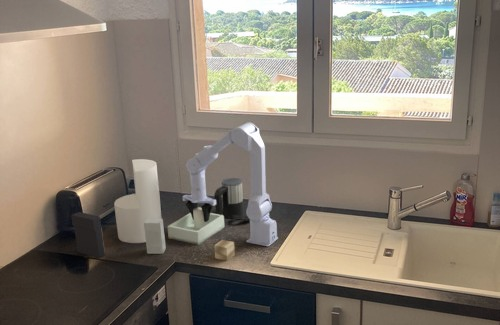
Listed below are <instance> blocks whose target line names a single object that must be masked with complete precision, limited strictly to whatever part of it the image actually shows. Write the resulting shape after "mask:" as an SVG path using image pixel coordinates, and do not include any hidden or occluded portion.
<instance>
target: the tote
mask: <svg viewBox="0 0 500 325" xmlns="http://www.w3.org/2000/svg"><path fill="white" fill-rule="evenodd" d="M223 229H225V217H224V215H222V214H221V215H220V214H217V213H213V212H210V216H209V221H207V225H206V226H204V227H202V228H201V229H197V228H195V227H194V220H193V218H192V215H191V213H190V212H189V213H188V214H186V215H184V216H183V217H181V218H179V219H177V220H176V221H174V222H172V223H171V224H169V225H167V234H168V235H167V236H168V239H170V240H174V241H180V242H184V243H188V244H193V245H199V246H200V244H203V243H204V242H205V241H207V240H208V239H209V238H210V237H212V236H214V235H216V234H217V233H218V232H220V231H221V230H223Z"/></svg>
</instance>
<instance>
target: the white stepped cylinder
mask: <svg viewBox="0 0 500 325" xmlns="http://www.w3.org/2000/svg"><path fill="white" fill-rule="evenodd" d="M131 162H132V173H133V182H134V190H135V193H132V194H127V195H124V196H121V197H119V198H117V199H115V201H114V203H113V204H114V205H113V207H114V213H115V220H116V230H117V237H118V240H120V241H121V242H124V243H127V244H128V243H129V244H141V243H142V244H143V243H146V238H145V229H144V222H145V221H146V220H147V219H163V218H162V210H161V208H162V207H161V199H160V198H161V197H160V189H159V188H160V186H159V176H158V166H157V162H156V161H155V160H152V159H146V158H140V159H137V158H136V159H132V160H131Z"/></svg>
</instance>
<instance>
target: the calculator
mask: <svg viewBox="0 0 500 325" xmlns="http://www.w3.org/2000/svg"><path fill="white" fill-rule="evenodd" d="M70 217H71V224H72V225H73V228H74V235H75V242H76V250H77V253H78V254H82V255H86V256H91V257H93V258H98V259H99V258H101V257H103V256H105V253H106V251H105V243H104V236H103V229H102V222H101V217H100V216H99V215H94V214H90V213H85V212H81V211H78V212H75V213H72V214H71V215H70Z"/></svg>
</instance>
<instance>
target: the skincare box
mask: <svg viewBox="0 0 500 325" xmlns="http://www.w3.org/2000/svg"><path fill="white" fill-rule="evenodd" d="M164 228H165V227H164V219H163V218H162V219H147V220H146V221H145V222H144V229H145V238H146V242H145V246H146V254H150V255H151V254H152V255H153V254H154V255H155V254H158V255H159V254H160V255H161V254H162V255H163V254H164V253H165V251H166V249H167V248H166V246H167V245H166V238H165V230H164Z"/></svg>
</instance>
